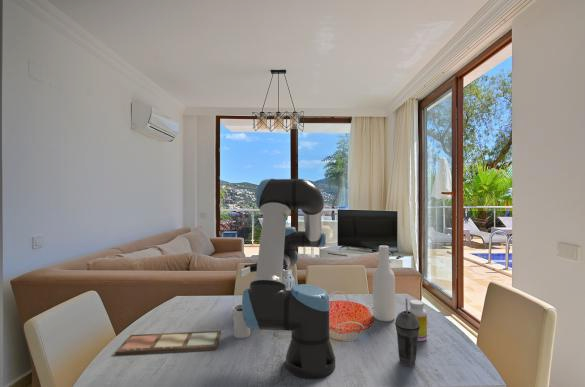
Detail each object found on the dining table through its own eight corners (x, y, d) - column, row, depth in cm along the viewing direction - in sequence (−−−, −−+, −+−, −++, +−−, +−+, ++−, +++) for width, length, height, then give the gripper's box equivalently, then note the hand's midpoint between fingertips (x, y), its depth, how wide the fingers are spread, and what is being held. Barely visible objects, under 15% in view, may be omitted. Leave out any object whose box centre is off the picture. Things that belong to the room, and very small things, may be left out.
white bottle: (399, 318, 128) (399, 246, 128) (385, 324, 123) (385, 248, 123) (382, 312, 135) (382, 243, 135) (368, 316, 130) (368, 245, 130)
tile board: (216, 349, 104) (216, 346, 104) (115, 355, 100) (115, 351, 100) (220, 333, 116) (220, 330, 116) (130, 337, 112) (130, 334, 112)
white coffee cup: (231, 332, 116) (230, 306, 116) (248, 329, 119) (248, 303, 119) (235, 340, 110) (235, 312, 110) (253, 336, 113) (253, 309, 113)
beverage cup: (422, 359, 97) (422, 296, 97) (417, 371, 91) (417, 303, 91) (398, 353, 101) (398, 292, 101) (392, 364, 95) (392, 298, 95)
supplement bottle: (429, 337, 112) (429, 301, 112) (422, 343, 107) (422, 306, 107) (411, 331, 117) (411, 297, 116) (403, 337, 112) (403, 302, 112)
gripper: (304, 274, 138) (283, 288, 118) (255, 268, 148) (229, 281, 128) (304, 257, 137) (283, 269, 118) (255, 253, 148) (229, 263, 128)
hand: (255, 275), depth 123 cm, fingers open, 13 cm apart
